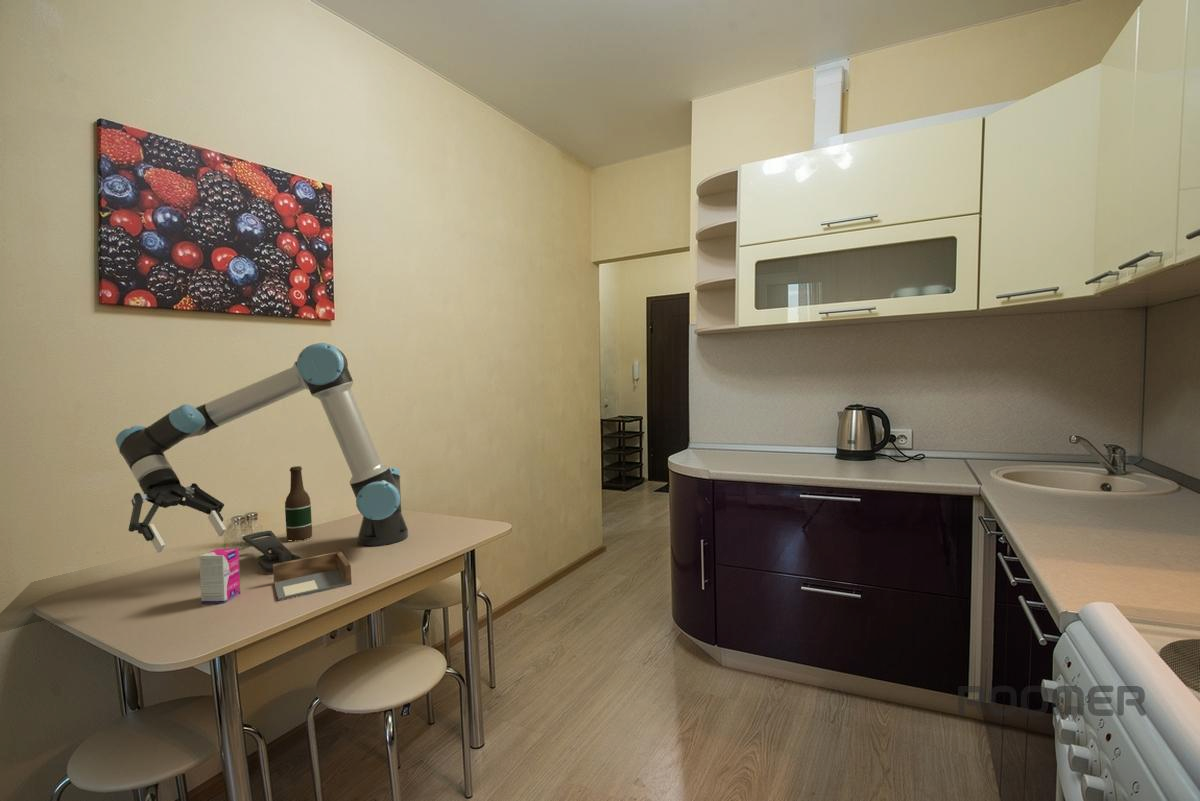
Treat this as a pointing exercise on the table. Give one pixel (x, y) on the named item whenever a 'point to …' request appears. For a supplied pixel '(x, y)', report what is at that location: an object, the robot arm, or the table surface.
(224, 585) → the supplement box
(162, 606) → the table surface
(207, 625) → the table surface
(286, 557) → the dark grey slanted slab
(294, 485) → the beer bottle
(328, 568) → the walnut corner walls
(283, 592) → the grey mat
